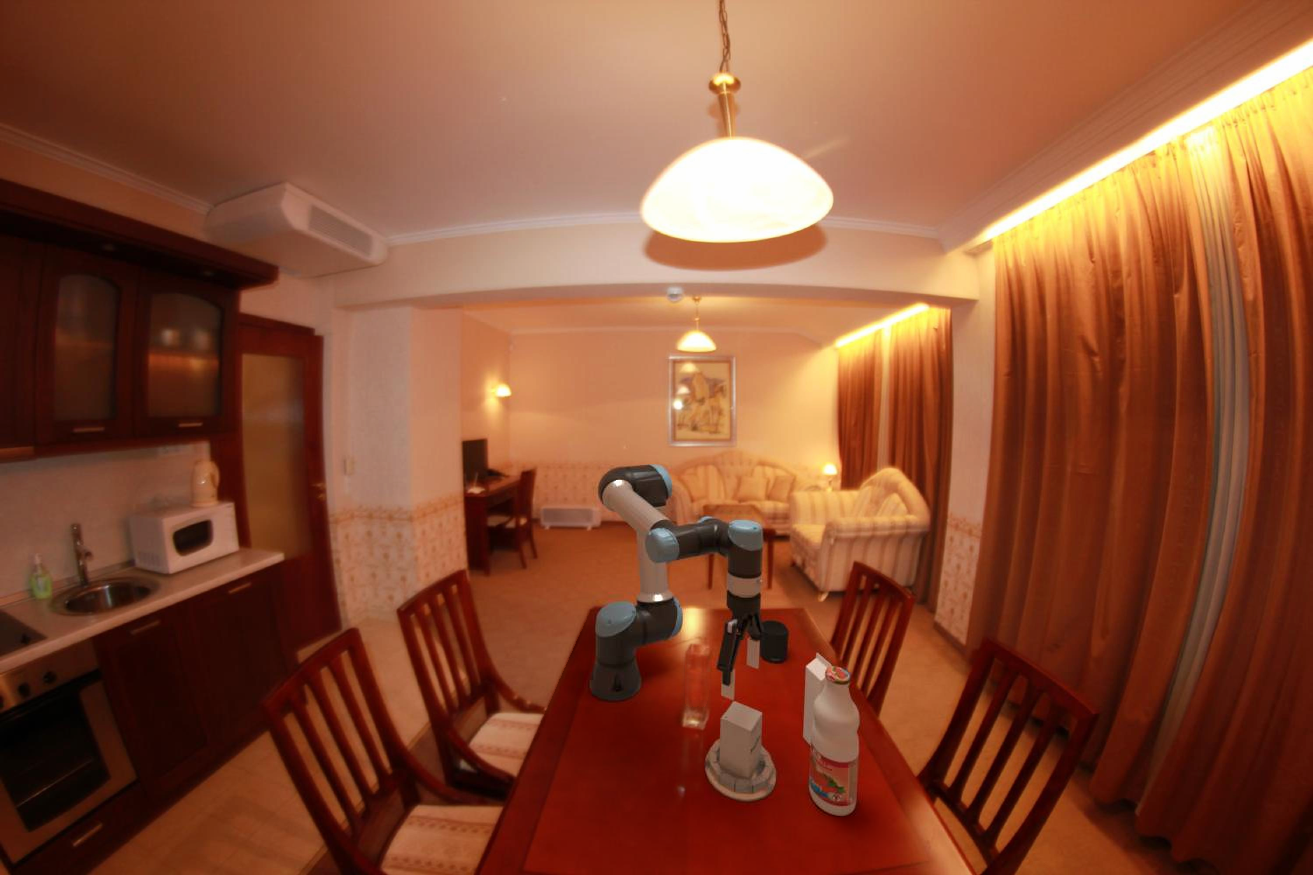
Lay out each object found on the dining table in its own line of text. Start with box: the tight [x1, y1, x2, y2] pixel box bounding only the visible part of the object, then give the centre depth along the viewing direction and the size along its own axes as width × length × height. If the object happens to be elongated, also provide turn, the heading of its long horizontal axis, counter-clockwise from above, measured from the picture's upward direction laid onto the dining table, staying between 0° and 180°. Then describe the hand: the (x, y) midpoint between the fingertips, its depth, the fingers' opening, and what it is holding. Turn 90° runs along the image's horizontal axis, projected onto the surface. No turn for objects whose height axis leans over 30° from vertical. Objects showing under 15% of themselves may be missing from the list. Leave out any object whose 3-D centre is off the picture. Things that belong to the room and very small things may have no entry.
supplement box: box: [719, 700, 763, 780], centre depth 101 cm, size 7×7×13 cm
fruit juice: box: [808, 665, 860, 817], centre depth 94 cm, size 9×9×28 cm
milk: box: [802, 652, 833, 747], centre depth 109 cm, size 6×6×22 cm
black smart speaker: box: [759, 619, 790, 664], centre depth 147 cm, size 9×9×10 cm
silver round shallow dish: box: [704, 738, 777, 803], centre depth 101 cm, size 16×16×3 cm
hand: (740, 680), depth 101 cm, fingers open, 13 cm apart
